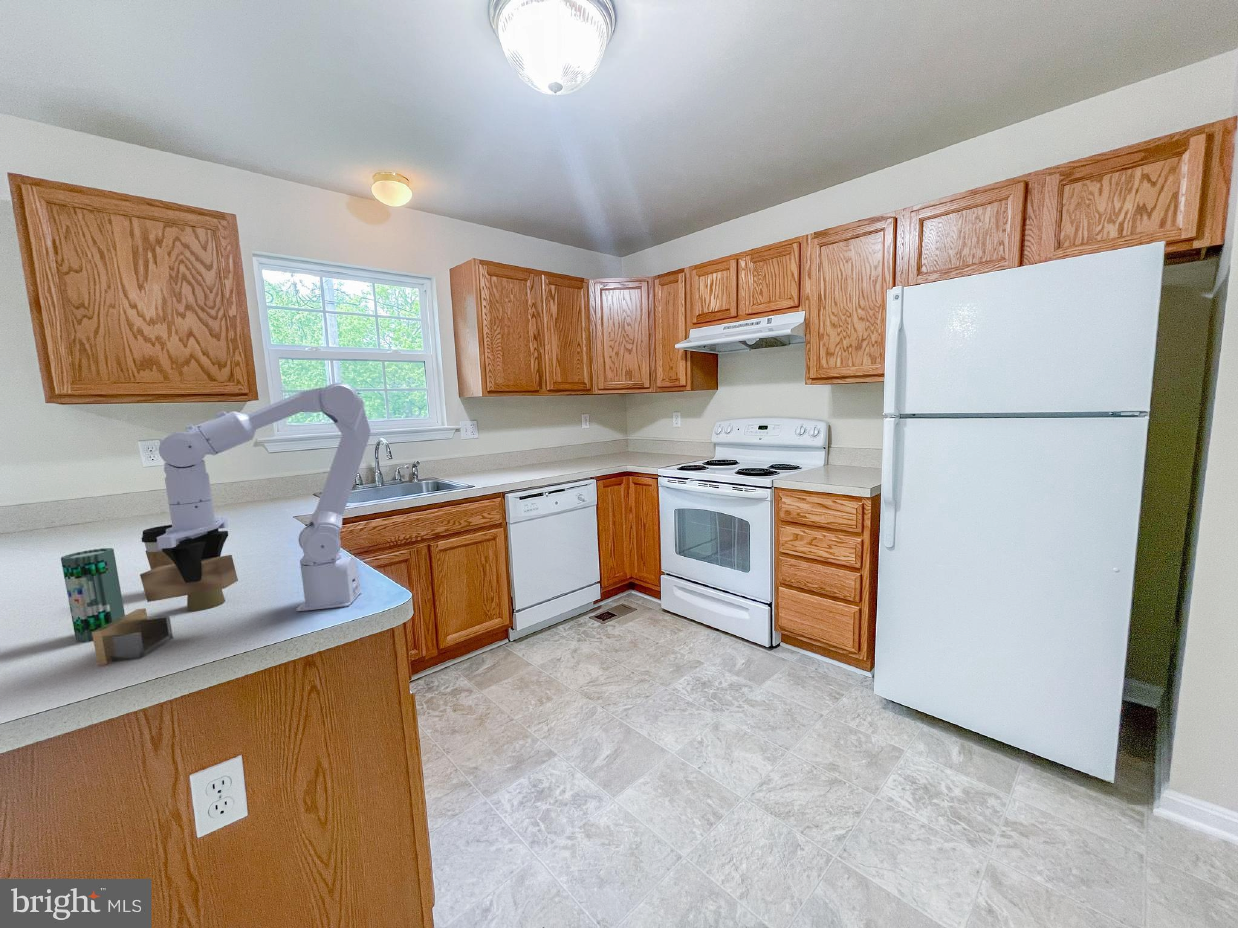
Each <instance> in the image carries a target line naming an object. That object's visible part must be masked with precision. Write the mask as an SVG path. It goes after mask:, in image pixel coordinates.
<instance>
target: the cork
mask: <svg viewBox="0 0 1238 928" xmlns="http://www.w3.org/2000/svg"><path fill="white" fill-rule="evenodd" d="M186 597H187V599H186V600H187V602H186V610H187V611H188V612H197V611H198V612H200V611H204V610H208V609H213V608H215V607H219V606H221V605H223V604H224V603H225V602H226V599H225V595H224V592H223V589H220V590H214V591H208V592H203V593H197V594H191V595H186Z"/></svg>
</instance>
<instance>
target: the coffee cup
mask: <svg viewBox="0 0 1238 928" xmlns="http://www.w3.org/2000/svg"><path fill="white" fill-rule="evenodd" d="M168 528H172V524H167V525H159V526H154V527H151V528H146V529H143V530H142V535H141V536H142V537H141V543H144V545H145V549H146V550H145V555H146V557H147V561H148V565H149V567H150V570H152V569H154V568H157V567H161V566H167V565H173V564H174V562H173V561H172V560H171V559H170V558H169V557H168V556H167V555H166V554H165V553H164V552H163V551H162V549H158V542H157V537H159V536H162V535H164V534H165V533H166V529H168Z"/></svg>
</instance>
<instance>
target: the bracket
mask: <svg viewBox="0 0 1238 928" xmlns="http://www.w3.org/2000/svg"><path fill="white" fill-rule="evenodd" d="M171 623H172V622H171V617H170V615H166V616H158V617H157V616H156V617H148V614H147V608H137V609H135V610H133V611H130V612H129V613H127V614H125V616H123V617H121V618H119V619H117V620H115V621H113V622H111V623H109V624H107V625H105V626H103V627H101V628H99V629H97V630H95V631H93V632H92V635H93V640H92V641H93V646H94V651H95V652H94V653H95V656H96V662H97V666H104V665H105V666H106V665H109V664H110V663H112V662H118V661H119V662H120V661H128V660H129V661H130V660H136V659H141V658H143V657H146V655H148V654H150V653H152V652H153V651H155V650H156V649H158V648H159V647H161V646H163V645H164V644H165V643H167V642H169V641H170V640H172V639H173V638H174V636H173V629H172V624H171Z"/></svg>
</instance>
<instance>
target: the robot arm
mask: <svg viewBox="0 0 1238 928" xmlns="http://www.w3.org/2000/svg"><path fill="white" fill-rule="evenodd" d="M364 403H365V402H364V400H363V399H362V397H361V396H360V395H359V394H358V393H357V391H356V389H354V388H353V387H352V386H351V385H350V384H347V383H343V382H334V383H331V384H328V385H326V386H324V387H323V386H320V387H315V388H312V389H307V390H304V391H300V392H299V391H298V392H297V393H295V394H293V395H289V396H287V397H286V398H283V399H280V400H278V401H275V402H273V403H271V404H268V405H266V406H263V407H261V408H259V409H257V410H254V411H252V412H249V413H246V414H245V413H242V412H237V411H235V410H234V411H233V410H232V411H230V412H227V413H226V411H224V410H223V411H220V412H218V413H216V417H215V418H211V419H209V420H207V421H205V422H201V423H199V424H197V425H193V424H188V425H186V426H185V429H186V431H187V432H185V431H177V432H172V434H170V435H167V436H166V437H165V438H163V439H162V440H161V442H160V443H159V445H158V453H159V456H160V458H161V459H162V460H163V462H164V467H163V471H164V473H165V477H164V483H165V489H166V495H167V502H168V508H169V515H170V521H171V525H172V528H168V529H166V533H165V534H164V535H162V536H159V537H157V542H158V549H162V551H163V552H164V553H165V554H166V555H167V556H168V557H169V558H170V559H171V560H172V561H173V562H174V564H175V565H176V567H177V568H178V570H179V572H180V574H181V576H182V578H183V579H184V581H185V583H190V582H199V581H200V580H201V577H202V566H201V560H203V559H209V558H215V557H221V555H222V551H223V548H224V545H225V543H226V541H227V539H228V537H229V532H228V530H220V529H227V528H228V527H229V526H228V518H227V517H226V516H225V517H224V516H223V517H215V510H214V509H215V508H214V502H213V497H212V496H213V495H212V488H211V482H210V474H209V473H208V471H207V468H206V461H205V457H206V455H211V456H217V455H219V454H221V453H223V452H226V451H229V450H231V449H233V448H236V447H238V446H240V445H242V444H245V443H247V442H250V441H252V440H253V439H254V436H255V434H256V431H257V430H259V429H261V428H263V427H266V426H269V425H272V424H274V423H276V422H279V421H282V420H284V419H287V418H289V417H292V416H295V415H297V414H300V413H308V414H309V413H311V414H312V413H314V414H316V413H323V414H324V415H325V416H326V417H327V418H329V419H330V420H331V421H332V422H333V423H334V425H335V426H336V428H337V430H338V431H339V432H340V435H341V437H340V441H339V443H338V445H337V449H336V450H335V451H336V452H335V454H334V457H333V460H332V464H331V466H330V468H329V472H328V474H327V477H326V480H325V483H324V486H323V489H322V491H321V494H320V498H319V500H318V504H317V506H316V509H315V510H314V511H313V513H312V515H311V517H310V520H309V522H308V524H307V525H306V526H305V527H304V528H302V529H301V531H300V533H299V536H298V540H297V541H298V544H299V547H300V548H301V549H302V553H303V556H302V558H301V559H299V566H300V571H301V572H300V573H301V581H302V587H303V597H304V602H303V603H302V604H300V605H299V606H298V607H297V608H296V609H295V610H296V612H304V611H313V610H323V609H332V608H342V607H343V608H344V607H348V606H350V605H351V604H352V603H353V602H354V601H355V600H356V598H358V597H359V595H360V594H361V593H362V592H363V590H362V589H361V583H360V574H359V567H358V562H357V560H356V558H355V557H353V556H352V557H351V556H345V555H343V553H342V551H340V550H341V546H342V542H341V536H340V535H341V531H342V527H343V516H344V513H345V510H346V506H347V504H348V500H349V498H350V495H351V492H352V489H353V486H354V483H355V481H356V478H357V475H358V472H359V470H360V469H359V468H360V467H361V463H362V460H363V458H364V455H365V451H366V449H367V445H368V443H369V440H370V437H371V433H372V432H371V427H370V424H369V420H368V416H367V415H366V410H365V407H364V406H365V404H364Z"/></svg>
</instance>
